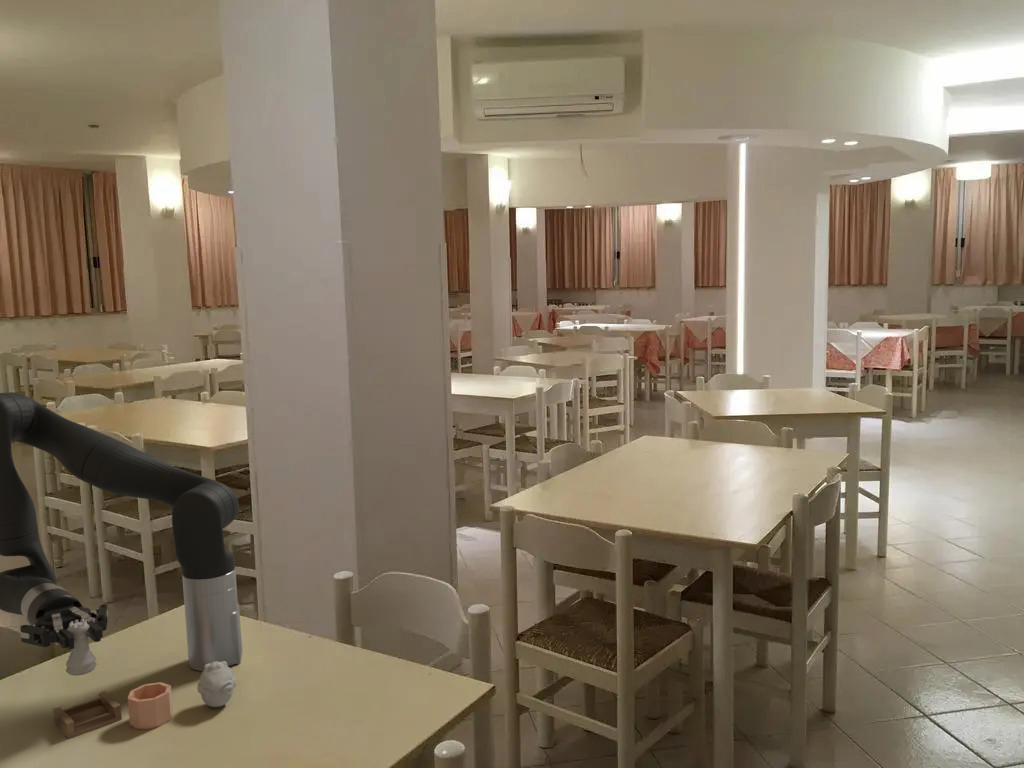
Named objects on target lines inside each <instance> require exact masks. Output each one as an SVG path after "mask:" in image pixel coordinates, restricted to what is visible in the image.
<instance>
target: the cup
mask: <svg viewBox="0 0 1024 768" xmlns="http://www.w3.org/2000/svg"><path fill="white" fill-rule="evenodd" d="M127 705H128V706H127V708H128V717H129V718H128V719H129V725H130V726H131V727H132V726H133V727H132V728H133V729H136V730H151V729H156V728H159V727H161V726H163V725H165V724H167V723H168V722H170V721H171V719H172V718H173V712H174V706H173V695H172V685H171V684H168V683H164V682H160V681H158V682H154V683H144V684H143V685H140V686H138V687H136V688H134V689H132V690H130V691H129V694H128V696H127Z"/></svg>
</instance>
